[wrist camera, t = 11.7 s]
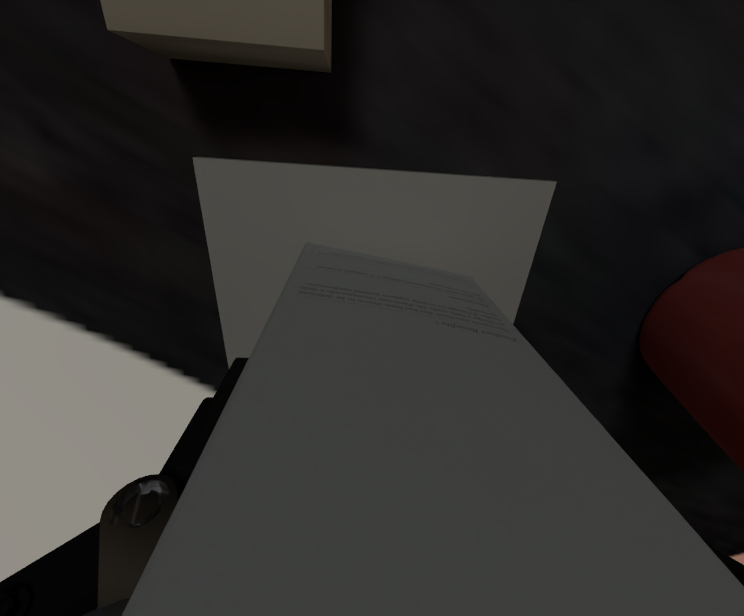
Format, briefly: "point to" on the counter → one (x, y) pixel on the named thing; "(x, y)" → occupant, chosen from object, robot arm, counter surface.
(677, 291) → the flower pot
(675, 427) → the counter surface
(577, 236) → the counter surface
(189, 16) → the box dock
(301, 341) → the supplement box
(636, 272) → the counter surface
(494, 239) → the tile
